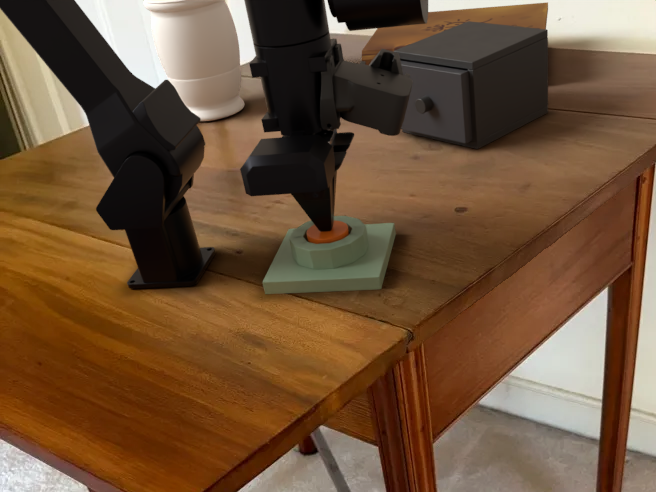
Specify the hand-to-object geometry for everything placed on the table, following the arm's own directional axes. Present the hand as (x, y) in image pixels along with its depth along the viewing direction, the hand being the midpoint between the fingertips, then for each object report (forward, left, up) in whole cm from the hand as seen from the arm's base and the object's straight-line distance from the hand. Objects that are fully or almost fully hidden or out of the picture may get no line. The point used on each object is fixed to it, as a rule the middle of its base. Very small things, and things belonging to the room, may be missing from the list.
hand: (326, 229), depth 71 cm
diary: (+54, -8, -3) cm, 55 cm away
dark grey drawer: (+31, -9, -2) cm, 33 cm away
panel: (0, 0, -3) cm, 3 cm away
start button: (0, 0, -2) cm, 2 cm away
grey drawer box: (+33, -11, -3) cm, 35 cm away
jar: (+45, +25, -3) cm, 52 cm away
